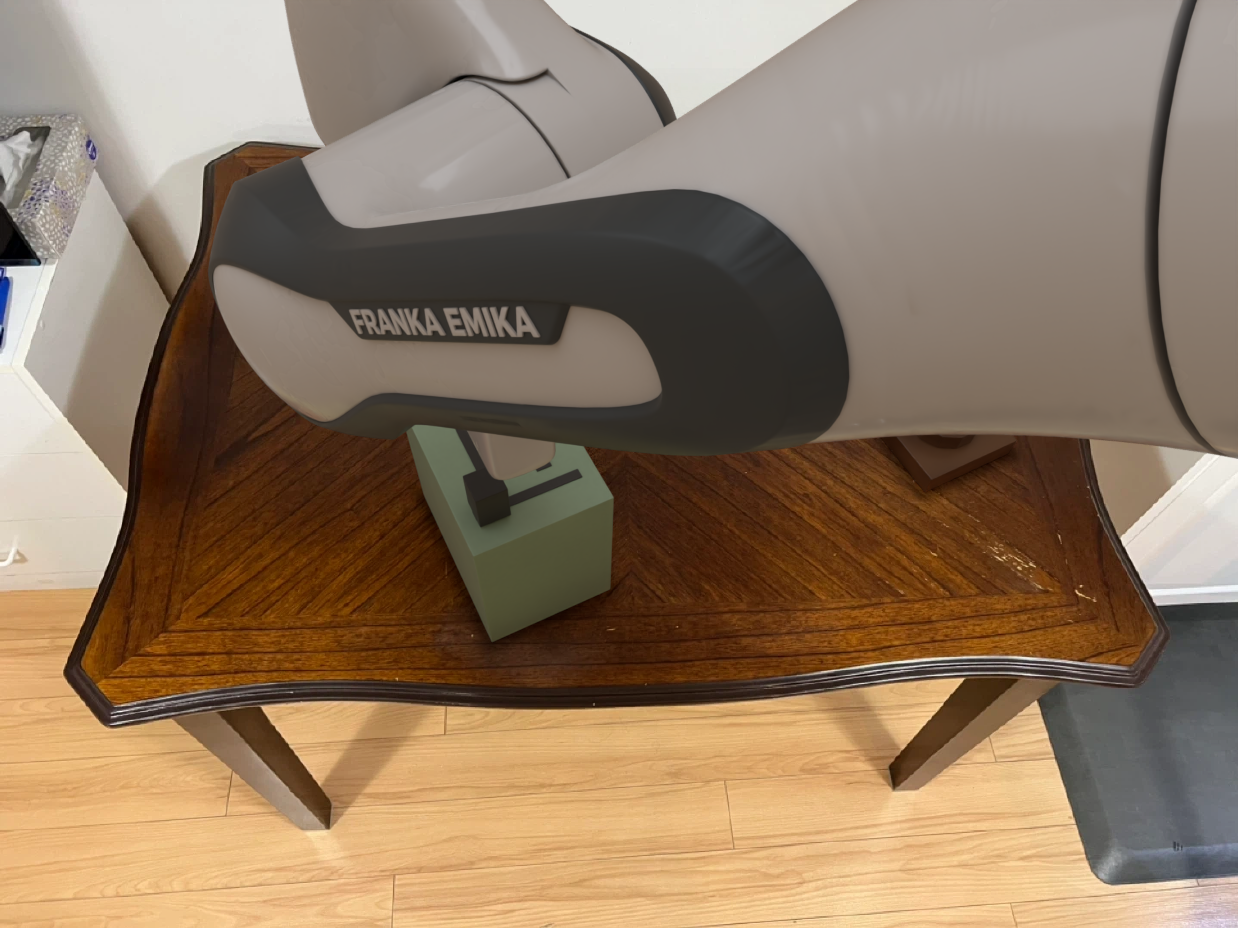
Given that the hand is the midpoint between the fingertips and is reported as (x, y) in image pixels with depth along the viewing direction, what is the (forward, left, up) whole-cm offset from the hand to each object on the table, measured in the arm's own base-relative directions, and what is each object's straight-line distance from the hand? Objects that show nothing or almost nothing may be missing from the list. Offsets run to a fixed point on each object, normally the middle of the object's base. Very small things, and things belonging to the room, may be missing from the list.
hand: (467, 399), depth 59 cm
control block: (-3, -44, -27) cm, 52 cm away
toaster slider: (-1, 0, -12) cm, 12 cm away
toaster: (+4, -3, -27) cm, 27 cm away
